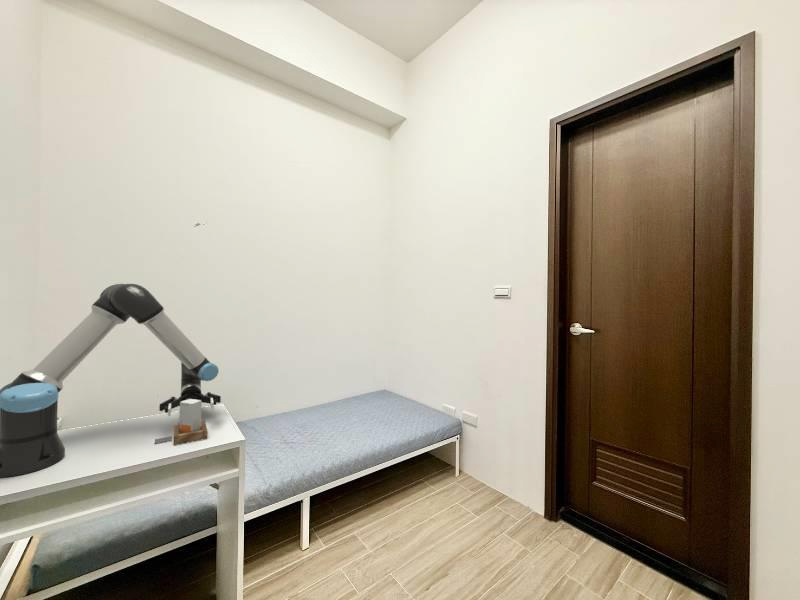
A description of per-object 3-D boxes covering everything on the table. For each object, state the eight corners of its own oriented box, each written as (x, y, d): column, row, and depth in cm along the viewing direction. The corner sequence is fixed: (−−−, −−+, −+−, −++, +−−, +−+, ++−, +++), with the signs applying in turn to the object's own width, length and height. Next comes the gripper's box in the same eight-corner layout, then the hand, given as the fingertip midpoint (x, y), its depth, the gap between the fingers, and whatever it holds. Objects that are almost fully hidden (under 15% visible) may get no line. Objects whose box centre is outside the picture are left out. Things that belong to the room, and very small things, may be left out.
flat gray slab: (154, 444, 112) (154, 443, 112) (155, 440, 115) (155, 439, 115) (171, 441, 115) (171, 440, 115) (172, 436, 118) (172, 436, 118)
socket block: (173, 445, 111) (173, 436, 111) (174, 433, 121) (174, 425, 121) (207, 438, 117) (207, 430, 117) (204, 427, 127) (205, 419, 127)
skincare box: (178, 434, 118) (179, 401, 118) (189, 429, 122) (190, 398, 122) (191, 436, 116) (191, 403, 116) (201, 432, 120) (202, 400, 120)
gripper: (224, 398, 145) (228, 412, 128) (154, 408, 132) (149, 425, 114) (224, 381, 145) (229, 394, 127) (154, 389, 132) (149, 404, 114)
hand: (191, 409), depth 121 cm, fingers open, 13 cm apart
